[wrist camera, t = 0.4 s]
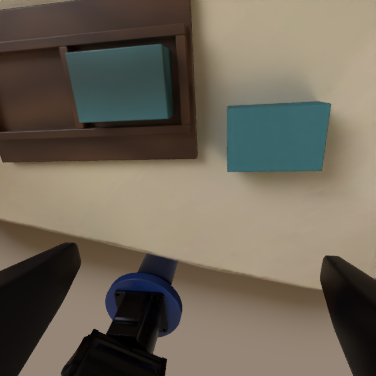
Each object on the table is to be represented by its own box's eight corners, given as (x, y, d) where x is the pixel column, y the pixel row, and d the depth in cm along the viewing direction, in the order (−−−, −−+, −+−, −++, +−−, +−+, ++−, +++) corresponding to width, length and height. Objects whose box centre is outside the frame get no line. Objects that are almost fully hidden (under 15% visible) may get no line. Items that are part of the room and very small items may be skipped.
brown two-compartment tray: (197, 156, 26) (192, 167, 22) (9, 160, 29) (-22, 170, 26) (190, -11, 21) (182, -31, 17) (-38, 18, 24) (-85, 6, 20)
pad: (311, 161, 24) (321, 171, 22) (227, 162, 26) (227, 172, 23) (318, 101, 22) (331, 103, 20) (227, 106, 24) (227, 108, 21)
